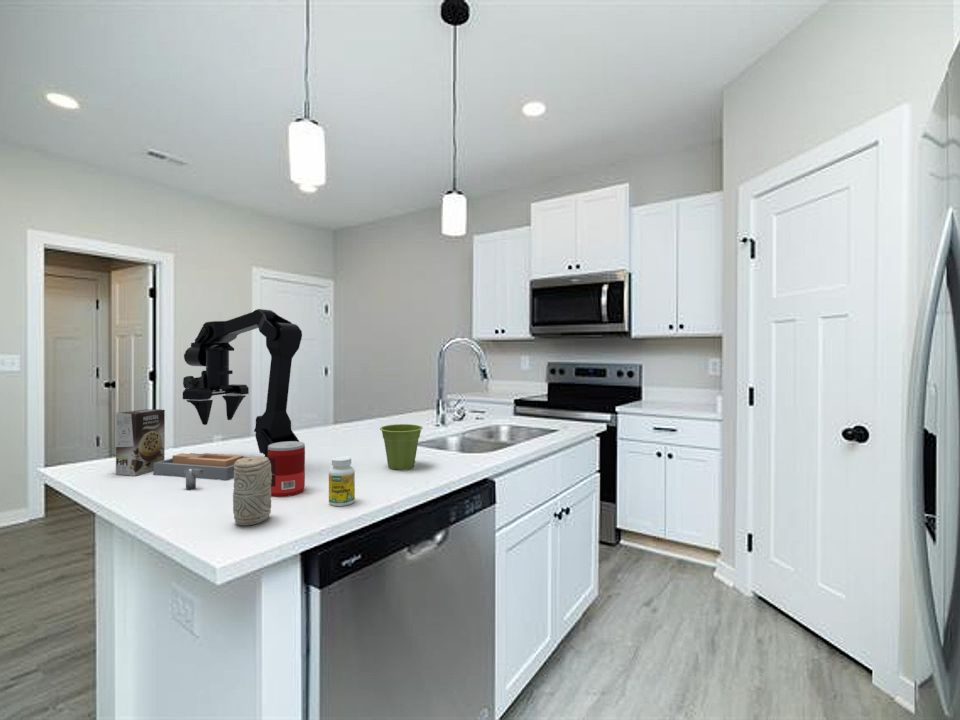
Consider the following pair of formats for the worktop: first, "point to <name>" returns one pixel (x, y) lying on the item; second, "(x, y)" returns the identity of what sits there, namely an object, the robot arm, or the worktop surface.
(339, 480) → the supplement bottle
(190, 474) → the post
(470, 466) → the worktop surface
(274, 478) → the canned food
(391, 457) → the plant pot
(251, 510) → the carving
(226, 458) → the wooden slotted key block
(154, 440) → the cookie box
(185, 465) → the tray
